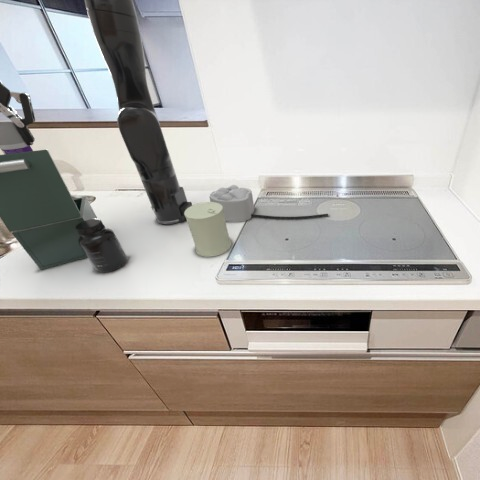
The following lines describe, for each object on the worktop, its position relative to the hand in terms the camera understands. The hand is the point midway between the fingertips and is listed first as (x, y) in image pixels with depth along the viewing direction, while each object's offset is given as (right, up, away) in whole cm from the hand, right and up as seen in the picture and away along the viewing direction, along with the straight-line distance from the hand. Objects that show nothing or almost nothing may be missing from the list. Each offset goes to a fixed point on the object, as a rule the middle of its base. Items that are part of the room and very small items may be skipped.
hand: (15, 145), depth 59 cm
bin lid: (+4, -10, -1) cm, 11 cm away
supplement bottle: (+16, -28, +7) cm, 33 cm away
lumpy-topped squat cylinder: (+40, -13, +29) cm, 51 cm away
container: (0, -9, +6) cm, 11 cm away
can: (+39, -23, +14) cm, 48 cm away
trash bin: (+1, -23, +13) cm, 27 cm away
